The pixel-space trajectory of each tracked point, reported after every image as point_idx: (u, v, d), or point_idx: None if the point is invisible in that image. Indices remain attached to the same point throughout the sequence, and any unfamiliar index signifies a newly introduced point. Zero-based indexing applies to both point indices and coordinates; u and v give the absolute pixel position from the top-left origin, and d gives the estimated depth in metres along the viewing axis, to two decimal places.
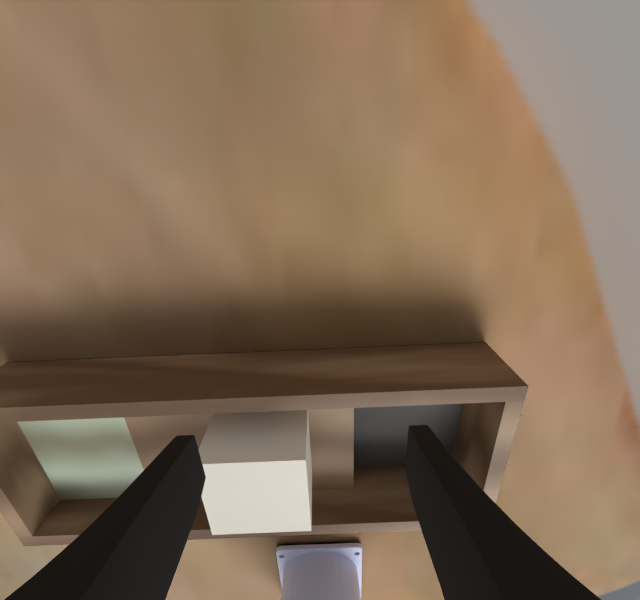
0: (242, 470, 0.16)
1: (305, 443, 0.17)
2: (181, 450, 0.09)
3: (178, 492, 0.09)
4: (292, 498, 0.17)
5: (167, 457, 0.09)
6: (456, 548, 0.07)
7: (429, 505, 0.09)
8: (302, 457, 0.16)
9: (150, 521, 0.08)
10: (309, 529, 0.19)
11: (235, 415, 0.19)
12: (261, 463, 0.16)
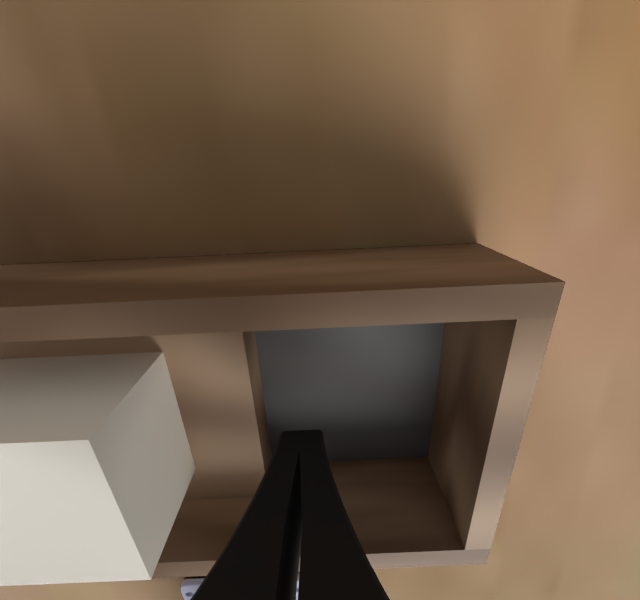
0: None
1: (114, 409, 0.09)
2: (297, 445, 0.09)
3: (299, 487, 0.09)
4: (92, 520, 0.09)
5: (287, 452, 0.09)
6: None
7: None
8: (86, 435, 0.08)
9: (291, 515, 0.08)
10: (146, 576, 0.10)
11: (26, 366, 0.11)
12: None
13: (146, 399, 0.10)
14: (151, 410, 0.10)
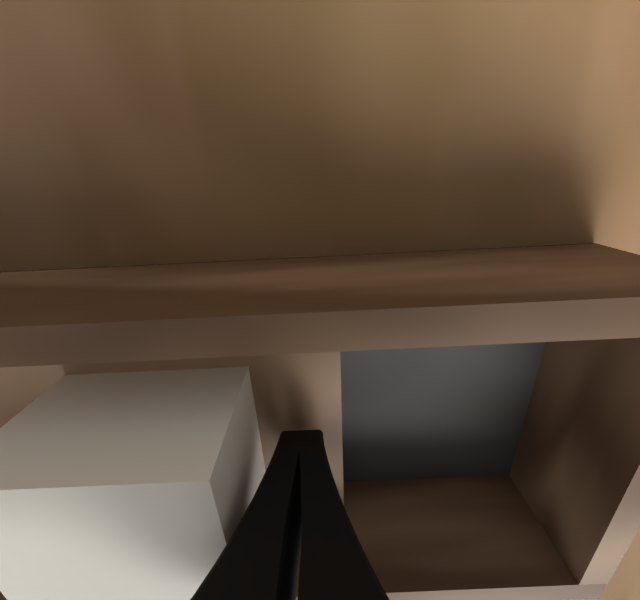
0: (54, 507, 0.07)
1: (222, 439, 0.07)
2: (297, 445, 0.09)
3: (299, 487, 0.09)
4: (195, 567, 0.08)
5: (287, 452, 0.09)
6: None
7: None
8: (203, 474, 0.06)
9: (291, 515, 0.08)
10: None
11: (98, 384, 0.10)
12: (96, 489, 0.06)
13: (241, 422, 0.09)
14: (244, 434, 0.09)
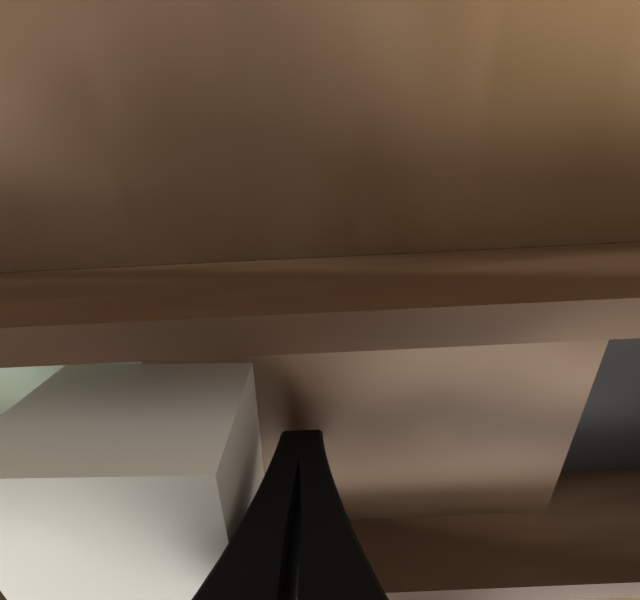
0: (56, 498, 0.07)
1: (227, 434, 0.07)
2: (298, 445, 0.09)
3: (300, 487, 0.09)
4: (195, 563, 0.07)
5: (288, 452, 0.09)
6: None
7: None
8: (209, 468, 0.06)
9: (292, 515, 0.08)
10: None
11: (100, 375, 0.09)
12: (101, 479, 0.06)
13: (244, 418, 0.09)
14: (246, 430, 0.09)
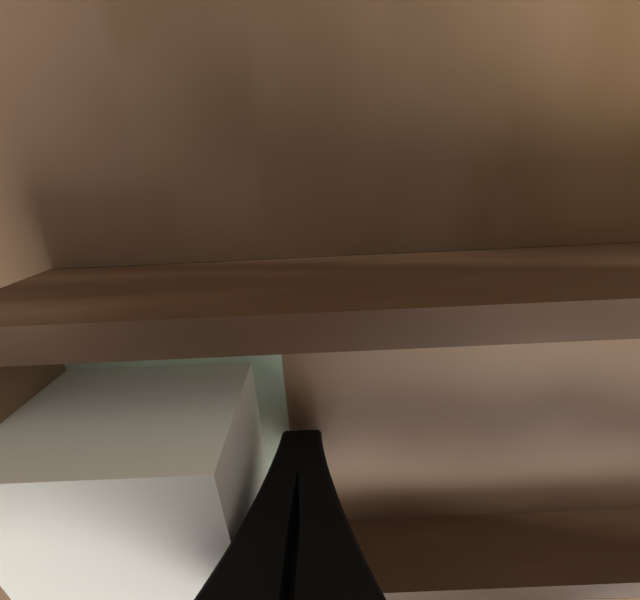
0: (57, 502, 0.07)
1: (226, 434, 0.07)
2: (300, 445, 0.09)
3: None
4: (198, 563, 0.07)
5: (289, 452, 0.09)
6: None
7: None
8: (208, 468, 0.06)
9: (294, 515, 0.08)
10: None
11: (100, 379, 0.09)
12: (99, 482, 0.06)
13: (244, 418, 0.09)
14: (247, 430, 0.09)
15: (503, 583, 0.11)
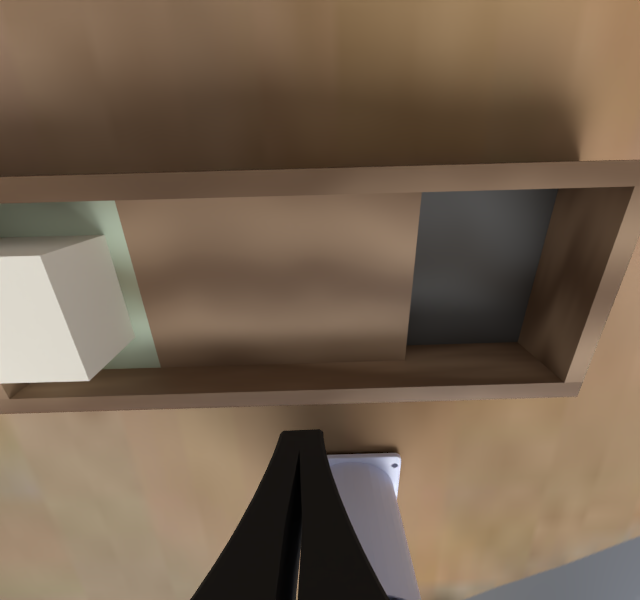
0: None
1: (60, 250, 0.13)
2: (298, 445, 0.09)
3: (299, 487, 0.09)
4: (46, 324, 0.13)
5: (287, 452, 0.09)
6: None
7: None
8: (39, 254, 0.12)
9: (291, 515, 0.08)
10: (86, 378, 0.14)
11: (4, 239, 0.15)
12: None
13: (88, 259, 0.14)
14: (92, 269, 0.15)
15: (276, 389, 0.17)
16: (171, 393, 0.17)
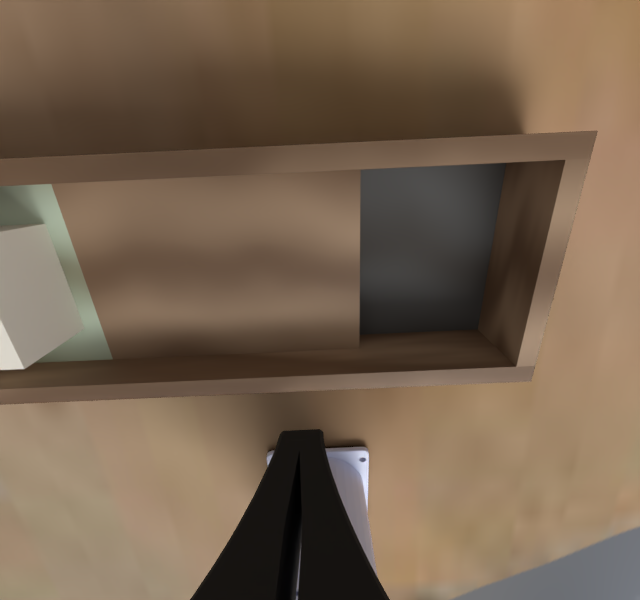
0: None
1: None
2: (297, 445, 0.09)
3: (299, 487, 0.09)
4: None
5: (287, 452, 0.09)
6: None
7: None
8: None
9: (291, 515, 0.08)
10: (21, 366, 0.14)
11: None
12: None
13: (24, 246, 0.14)
14: (29, 256, 0.15)
15: (222, 377, 0.17)
16: (117, 383, 0.17)
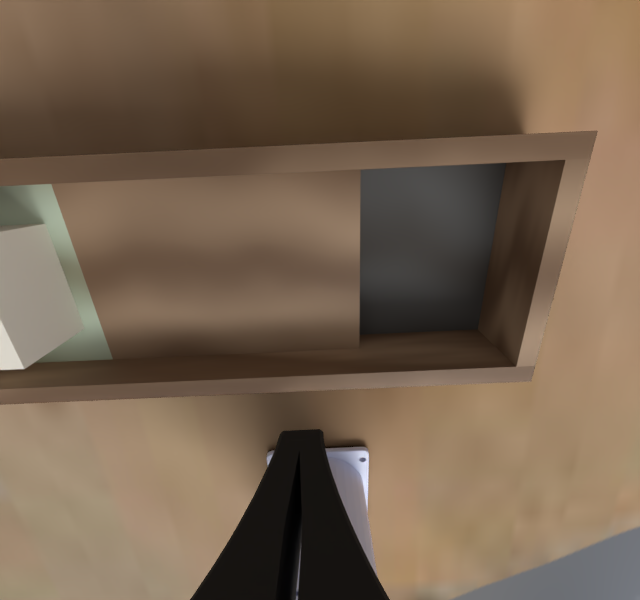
0: None
1: None
2: (297, 445, 0.09)
3: (299, 487, 0.09)
4: None
5: (287, 452, 0.09)
6: None
7: None
8: None
9: (291, 515, 0.08)
10: (21, 366, 0.14)
11: None
12: None
13: (24, 246, 0.14)
14: (29, 256, 0.15)
15: (222, 377, 0.17)
16: (117, 383, 0.17)
